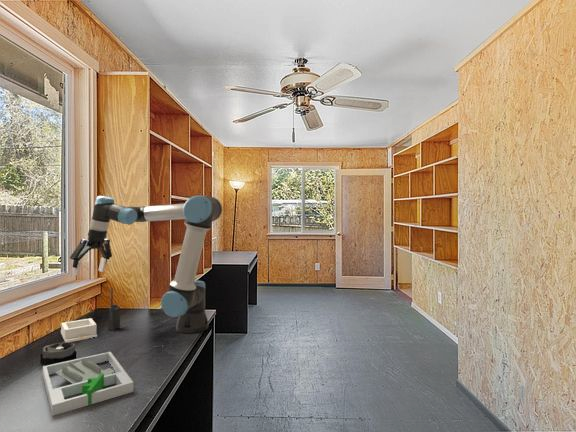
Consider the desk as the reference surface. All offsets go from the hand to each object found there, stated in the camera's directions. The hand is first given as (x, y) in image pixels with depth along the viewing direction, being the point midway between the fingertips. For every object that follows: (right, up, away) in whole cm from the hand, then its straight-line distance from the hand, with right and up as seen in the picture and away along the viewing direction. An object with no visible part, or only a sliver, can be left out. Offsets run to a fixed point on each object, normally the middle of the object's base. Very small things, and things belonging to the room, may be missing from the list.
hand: (88, 272), depth 163 cm
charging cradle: (-1, -27, -6) cm, 28 cm away
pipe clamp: (+34, -28, -57) cm, 72 cm away
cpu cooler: (+8, -28, -33) cm, 44 cm away
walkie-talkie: (+11, -27, +3) cm, 30 cm away
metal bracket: (+25, -29, -46) cm, 60 cm away
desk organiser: (+28, -28, -49) cm, 63 cm away
